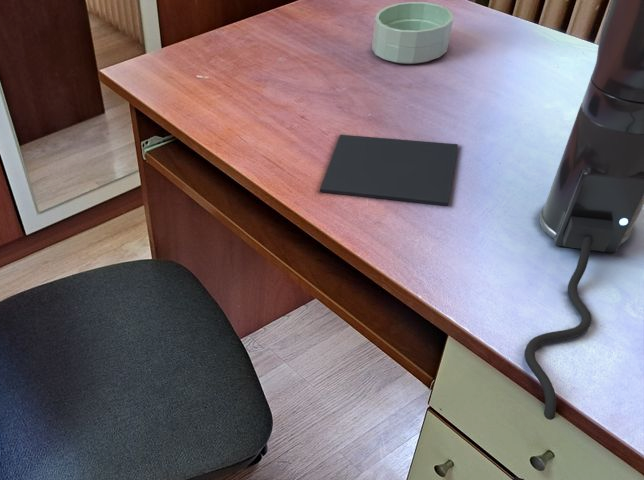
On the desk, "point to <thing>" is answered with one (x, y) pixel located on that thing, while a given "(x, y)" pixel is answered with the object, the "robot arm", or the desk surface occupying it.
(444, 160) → the mat
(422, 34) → the bowl
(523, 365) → the desk surface
